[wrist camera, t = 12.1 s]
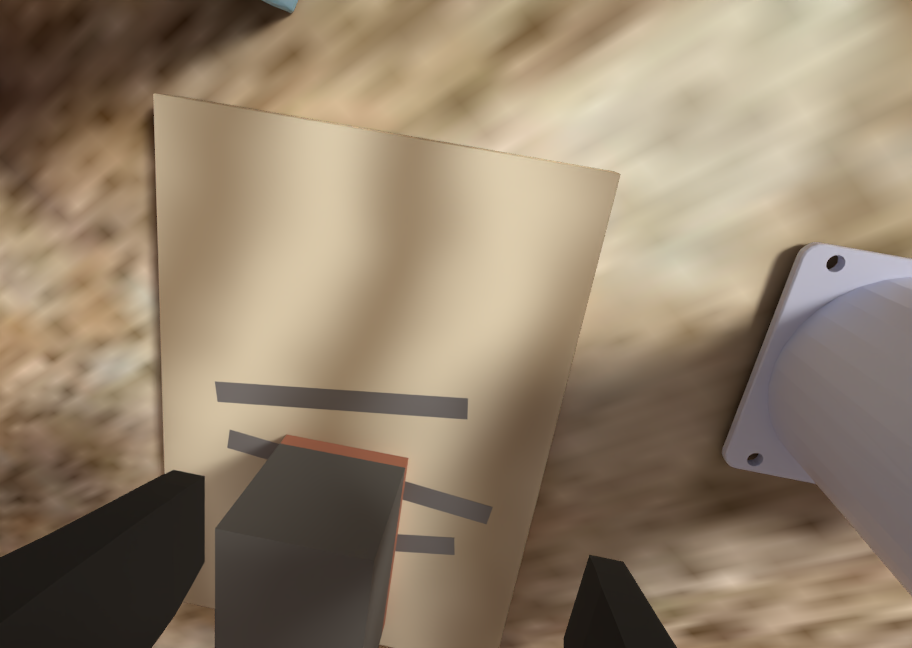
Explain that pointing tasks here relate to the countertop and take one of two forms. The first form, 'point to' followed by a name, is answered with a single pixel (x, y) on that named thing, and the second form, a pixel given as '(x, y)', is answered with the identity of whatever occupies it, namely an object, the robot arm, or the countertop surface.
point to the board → (374, 331)
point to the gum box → (283, 4)
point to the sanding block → (309, 549)
